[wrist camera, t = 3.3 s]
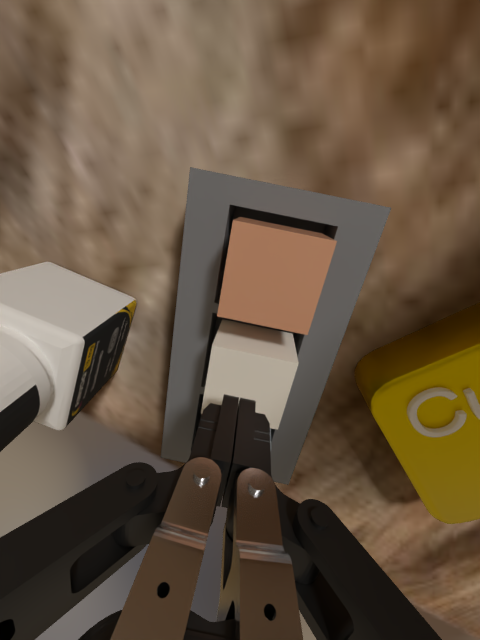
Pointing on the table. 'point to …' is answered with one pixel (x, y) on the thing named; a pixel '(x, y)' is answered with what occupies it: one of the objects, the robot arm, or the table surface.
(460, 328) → the element tile
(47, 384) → the medicine bottle
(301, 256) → the terracotta key
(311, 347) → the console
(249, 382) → the ivory key
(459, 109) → the table surface
